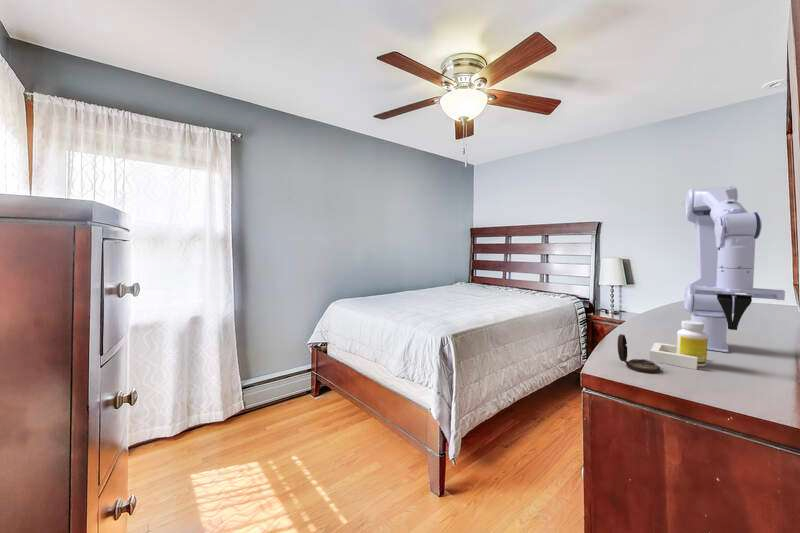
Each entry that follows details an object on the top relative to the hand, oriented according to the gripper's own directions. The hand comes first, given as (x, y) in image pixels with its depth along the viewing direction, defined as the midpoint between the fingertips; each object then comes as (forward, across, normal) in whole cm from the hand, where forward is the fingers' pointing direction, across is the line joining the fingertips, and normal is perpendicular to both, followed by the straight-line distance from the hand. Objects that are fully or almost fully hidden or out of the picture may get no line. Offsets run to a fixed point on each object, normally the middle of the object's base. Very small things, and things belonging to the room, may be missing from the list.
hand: (732, 329), depth 73 cm
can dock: (+9, -9, 0) cm, 13 cm away
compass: (+9, -15, -11) cm, 21 cm away
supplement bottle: (+9, -7, 0) cm, 11 cm away
